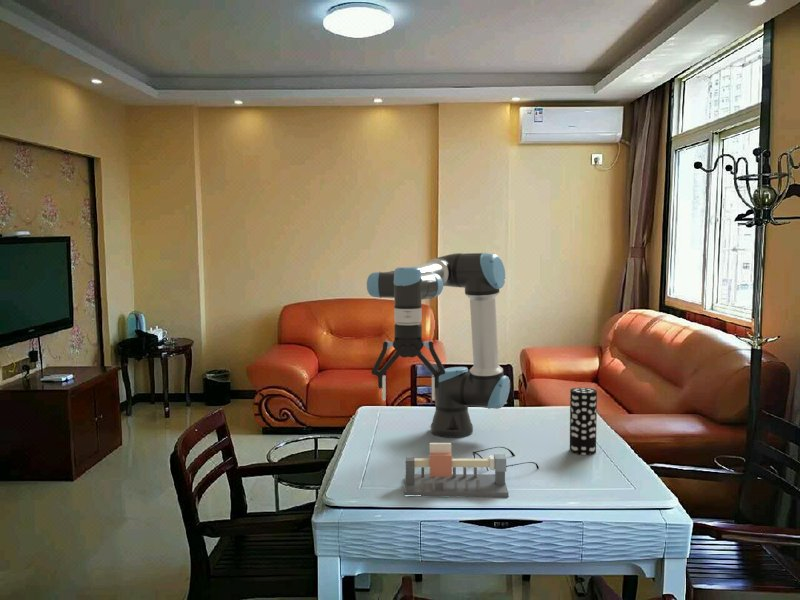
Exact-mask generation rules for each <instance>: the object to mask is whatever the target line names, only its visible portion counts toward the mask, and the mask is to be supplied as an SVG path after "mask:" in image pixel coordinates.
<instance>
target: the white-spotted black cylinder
mask: <svg viewBox="0 0 800 600" xmlns="http://www.w3.org/2000/svg"><path fill="white" fill-rule="evenodd" d="M569 391H570V394H569V395H570V397H569V399H570V400H569V451H570V452H571V453H573V454H576V455H580V454H581V455H582V456H587V455H588V456H590V455H594V454H596V453H597V415H598V414H597V411H598V410H597V409H598V408H597V407H598V406H597V405H598V404H597V403H598V401H597V400H598V390H597V389H594V388H589V387H574V388H570V390H569Z"/></svg>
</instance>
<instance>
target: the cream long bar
mask: <svg viewBox="0 0 800 600" xmlns="http://www.w3.org/2000/svg"><path fill="white" fill-rule="evenodd" d="M506 466H507V457H506V454H504V453H503V454H501V453H500V454H499V453H497V454H496V453H495V454H493V455H489V456H488V458H483V459H481V458H475V459H474V458H452V468H453V467H456V468H463V467H466V468H474V467H477V468H486V467H487V468H488V469H489V471H494V473H495V472H505V473H506V472H507V467H506ZM414 467H415V468H421V467H424V468H430V458H419V457H418V458H415V457H414Z"/></svg>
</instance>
